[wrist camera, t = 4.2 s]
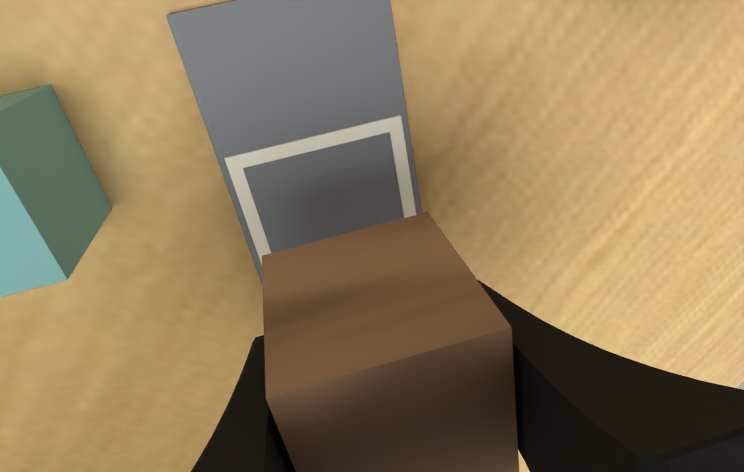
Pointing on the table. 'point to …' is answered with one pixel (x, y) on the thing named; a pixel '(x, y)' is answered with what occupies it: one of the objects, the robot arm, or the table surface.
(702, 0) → the table surface
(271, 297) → the walnut block
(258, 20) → the grey board with square
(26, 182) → the teal block
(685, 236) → the table surface
